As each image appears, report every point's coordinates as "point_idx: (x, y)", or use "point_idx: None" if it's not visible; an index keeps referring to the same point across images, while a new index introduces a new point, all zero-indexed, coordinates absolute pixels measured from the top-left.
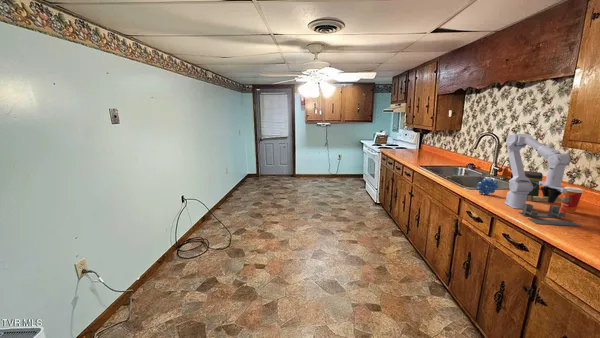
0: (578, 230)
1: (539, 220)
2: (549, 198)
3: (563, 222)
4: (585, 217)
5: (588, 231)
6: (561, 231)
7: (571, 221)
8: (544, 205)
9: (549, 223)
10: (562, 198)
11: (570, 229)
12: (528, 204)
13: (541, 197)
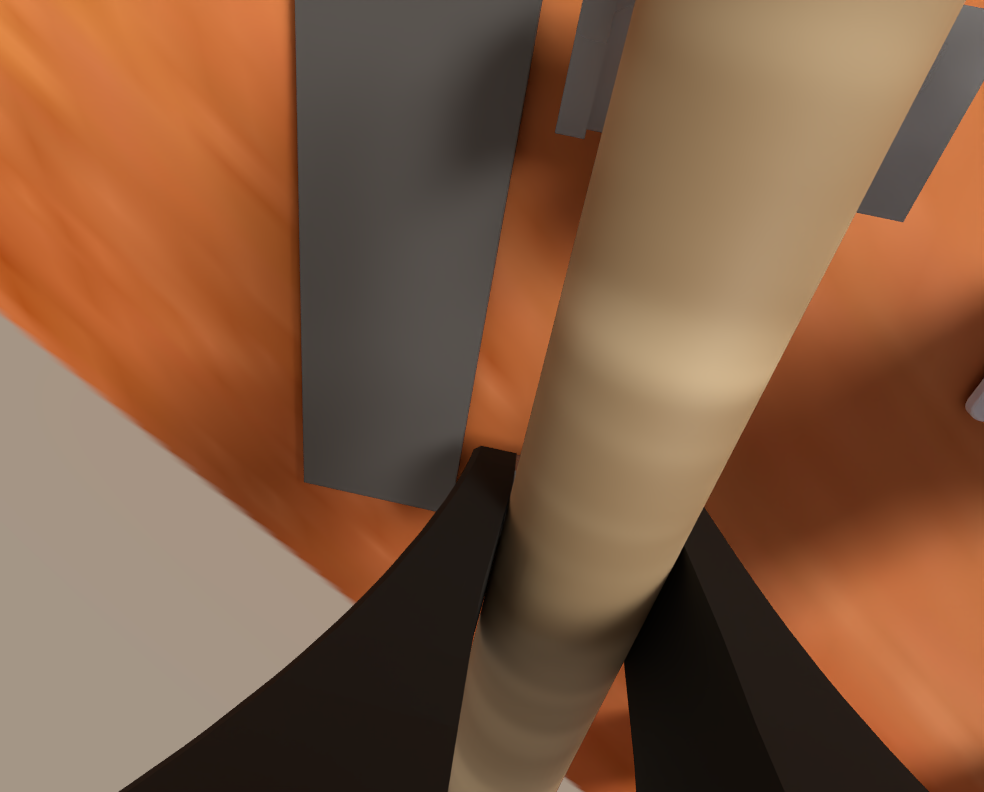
0: (176, 336)
1: (449, 45)
2: (445, 524)
3: (389, 387)
4: None
5: (178, 418)
6: (45, 23)
7: (427, 506)
8: (949, 711)
9: (322, 116)
10: (463, 790)
11: (182, 264)
12: (901, 131)
13: (600, 341)
